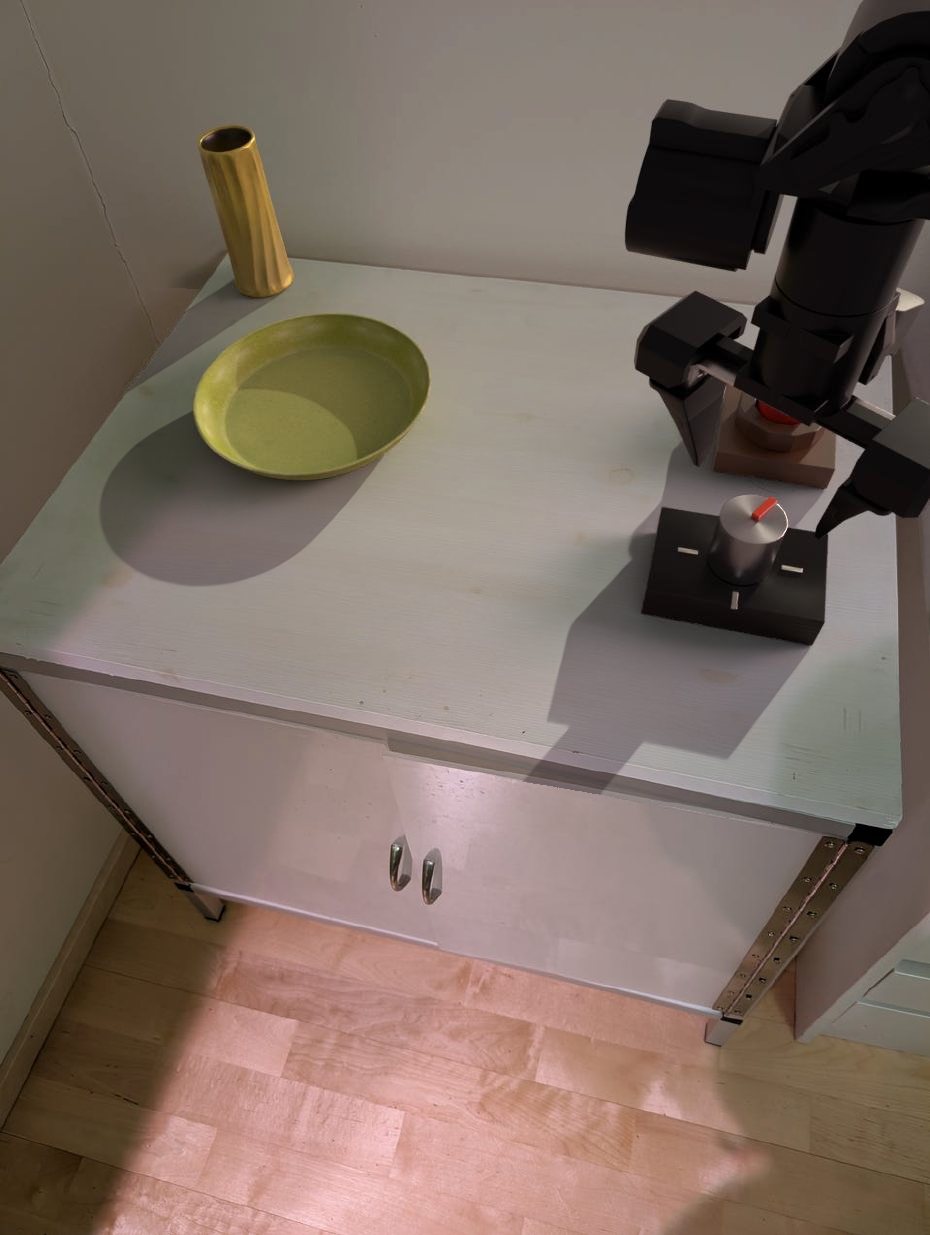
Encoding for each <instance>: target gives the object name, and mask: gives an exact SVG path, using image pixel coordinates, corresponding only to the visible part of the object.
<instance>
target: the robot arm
mask: <svg viewBox="0 0 930 1235" xmlns="http://www.w3.org/2000/svg"><path fill="white" fill-rule="evenodd" d="M843 38H844V39H843V41H842V43H841V46H840V47H838V49H836V51H835V52H834V53H832V54H831V55H830V56H829V57H828V58H827V59H826V60H824V62H823V63H822V64H821V65H819V67H818V68H817V69H816V70H814V71H813V72H812V73H811V74H810V75H809V76H807V78H806V79H805V80H804V81H803V82H801V83H800V84H799V85H797V87H796V88H795V89H794V90H793V91H792V92H791V93H790V94H789V96H788V98H787V101H786V103H785V105H784V108H783V110H782V112H781V114H780V116H779V119H776V118H770V117H762V116H756V115H749V114H742V113H735V112H728V111H721V110H712V109H709V108H705V107H703V106H701V105H698V104H697V103H693V102H689V101H684V100H677V99H669V98H668V99H665V101H663V102H662V104H661V105H660V107H659V109H658V111H657V112H656V114H655V115H654V117H653V118H652V120H651V124H650V132H649V139H648V144H647V147H646V150H645V153H644V156H643V159H642V163H641V166H640V170H639V173H638V177H637V181H636V185H635V189H634V194H633V196H632V197H631V199H630V201H629V203H628V205H627V210H626V216H625V224H624V225H625V226H624V246H625V249H626V251H627V252H630V253H634V254H639V255H645V256H650V257H655V258H660V259H666V260H670V261H676V262H681V263H685V264H691V265H697V266H701V267H706V268H713V269H718V270H722V271H728V272H733V273H736V272H737V271H738V270H741V271H742V270H743V271H746V270H747V268H748V265H749V262H750V258H751V255H752V251H753V253H754V254H759V255H764V256H765V255H766V253H767V251H768V248H769V246H770V243H771V240H772V238H773V234H774V231H775V228H776V224H777V222H778V219H779V216H780V212H781V209H782V204H783V202H784V197H785V196H789V197H795V198H796V200H795V203H794V207H793V210H792V214H791V218H790V221H789V224H788V227H787V228H788V229H787V231H786V235H785V239H784V243H783V245H782V248H781V252H780V256H779V260H778V262H777V266H776V270H775V273H774V277H773V280H772V284H771V287H770V290H769V295H767V296H766V297H764V299H762V300H761V301H760V302H758V303H757V304H756V305H755V306H754V308H753V312H752V315H751V319H750V325H753V326H755V327H757V328H759V329H758V333H757V336H756V340H755V343H754V347H753V349H752V348H750V347H748V346H746V345H744V344H742V343H740V342H738V341H736V340H738V339H739V338H740V337H742V336H743V335H744V334H745V329H746V326H747V322H748V318H747V317H746V316H745V315H744V313H743V312H741V311H739V310H737V309H735V308H733V307H731V306H728V305H726V304H725V303H723V302H721V301H718V300H716V299H714V298H712V297H710V296H708V295H706V294H704V293H702V292H699V291H698V290H694V291H692V292H690V293H688V294H686V295H685V296H682V298H680V299H679V300H677V301H676V302H675V303H674V304H673V305H671V306H669V307H668V308H667V309H665V310H664V311H663V312H662V313H660V314H659V315H658V316H656V317H654V319H652V320H650V321H649V322H648V323H647V324H646V325H644V326H643V328H642V329H641V331H640V333H639V335H638V337H637V338H636V344H635V350H634V355H633V356H634V357H633V366H634V370H636V371H637V372H639V373H640V374H643V375H644V376H646V377H648V386H649V387H650V388H651V389H652V390H654V391H655V392H657V393H658V394H659V396H660V398H661V400H662V402H663V403H664V405H665V407H666V409H667V411H668V413H669V415H670V416H671V418H672V420H673V422H674V424H675V426H676V428H677V431H678V432H679V435H680V438H681V440H682V442H683V444H684V447H685V449H686V451H687V454H688V457H689V458H690V460H691V463H692V465H693V466H695V467H697V468H699V467H701V466H702V465H703V464H704V463H705V462H706V461H707V460H708V458H709V456H710V453H711V450H712V447H713V444H714V441H715V438H716V437H715V436H716V433H717V427H718V424H719V420H720V415H721V409H722V402H723V397H724V393H725V389H726V385H727V384H729V385H731V386H733V387H735V388H736V389H738V390H740V391H742V392H744V393H746V394H748V395H750V396H751V397H753V398H755V399H757V400H759V401H761V402H763V403H765V404H766V405H768V406H770V407H772V408H774V409H776V410H778V411H780V412H781V413H783V414H785V415H787V416H789V417H791V418H793V419H795V420H797V421H799V422H801V423H803V424H805V425H806V426H808V427H809V426H810V425H812V424H813V423H816V424H818V425H820V426H822V427H824V428H825V429H827V430H829V431H831V432H833V433H835V434H837V436H839V437H841V438H842V439H845V440H846V441H849V442H850V443H852V444H854V445H855V446H858V447H859V448H861V449H864V450H863V451H862V453H861V454H860V456H859V457H858V458H857V460H856V462H855V464H854V466H853V468H852V469H851V472H850V474H849V476H848V477H847V478H846V479H845V480H844V481H843V482H842V483H841V484H840V485H839V486H838V487H837V489H836V491H835V493H834V495H833V496H832V498H831V500H830V501H829V503H828V505H827V507H826V508H825V510H824V512H823V513H822V515H821V517H820V518H819V521H818V523H817V524H816V526H815V529H814V530H815V531H814V532H815V535H814V537H816V538H817V539H819V540H820V539H821V538H823V537H824V536H825V535H826V534H828V535H829V533H830V532H832V531H833V530H834V529H836V528H837V527H838V526H839V525H841V524H842V523H844V522H845V521H847V520H850V519H852V518H854V517H856V516H860V515H861V514H863V513H866V512H871V513H873V514H874V515H877V516H880V517H887V516H890V515H891V514H895V515H896V516H898V517H900V518H901V519H916V518H919V517H920V516H921V515H922V514H923V513H924V511H926V509H927V508H928V507H930V403H929V402H926V401H925V400H922V399H920V398H918V397H917V396H915V397H913V398H912V399H911V400H910V401H909V403H907V404H906V405H905V406H904V408H902V409H901V410H900V411H899V412H898V413H897V414H896V415H894V414H892V413H890V412H888V411H886V410H884V409H883V408H881V407H878V406H876V405H874V404H872V403H870V402H868V401H866V400H864V399H862V398H860V397H859V396H856V395H855V394H853V393H854V391H855V389H856V387H857V384H858V383H859V384H861V385H863V386H867V385H868V384H870V383H871V382H872V381H873V380H874V379H875V378H876V377H877V376H878V375H879V372H880V370H881V368H882V365H883V363H884V361H885V359H886V358H887V357H889V356H890V357H893V356H895V355H897V353H898V351H899V349H900V348H901V345H902V344H903V342H904V341H905V339H906V337H907V335H908V333H909V331H910V330H911V328H912V327H913V324H914V323H915V321H916V319H917V317H918V316H919V314H920V312H921V310H922V308H923V307H924V306H925V300H924V299H923V298H921V297H920V296H918V295H916V294H914V293H912V292H909V291H907V290H905V289H902V288H900V287H899V285H900V282H901V280H902V278H903V275H904V273H905V271H906V268H907V266H908V263H909V261H910V260H911V256H912V254H913V252H914V250H915V247H916V245H917V243H918V240H919V238H920V235H921V233H922V231H923V229H924V226H925V223H926V221H930V0H862V1H861V2H860V4H859V5H858V7H857V9H856V11H855V13H854V15H853V17H852V19H851V22H850V24H849V26H848V28H847V31H846V32H845V35H844V37H843Z"/></svg>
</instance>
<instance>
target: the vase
mask: <svg viewBox="0 0 930 1235" xmlns="http://www.w3.org/2000/svg"><path fill="white" fill-rule="evenodd" d="M256 140H257V139H256V135H255V132H253V130H252V129H251V128H249V127H247V126H245V125H241V124H240V125H239V124H227V125H226V124H225V125H220V126H217V127H214V128H210V129H209V130H207V131H205V132H204V133H203V134H201V135H200V136H199V138H198V139H197V141H196V142H197V143H196V145H197V149H198V152H199V156H200V160H201V164H202V167H203V170H204V173H205V177H206V180H207V185H208V187H209V191H210V194H211V197H212V202H213V204H214V207H215V212H216V215H217V218H218V220H219V225H220V229H221V233H222V237H223V240H224V243H225V246H226V249H227V254H228V257H229V261H230V264H231V269H232V273H233V276H234V285H235V288H236V290H237V291H239V292H240V293H241V294H243V295H244V296H247V297H251V298H267V297H272V296H275V295H278V294H280V293H281V292H283V291H285V290H286V289H288V288H289V286H290V285H291V284H292V282H293V281H294V277H295V274H294V270H293V268H292V266H291V264H290V262H289V259H288V255H287V251H286V247H285V244H284V240H283V237H282V233H281V230H280V226H279V223H278V219H277V216H276V211H275V208H274V205H273V202H272V198H271V194H270V189H269V186H268V182H267V178H266V173H265V170H264V167H263V162H262V159H261V155H260V152H259V149H258V145H257V141H256Z"/></svg>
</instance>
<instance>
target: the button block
mask: <svg viewBox="0 0 930 1235" xmlns="http://www.w3.org/2000/svg"><path fill="white" fill-rule="evenodd" d="M758 404H759V400H757V399H755V398H753V397H751V396H750V395H748V394H746V393H744V392H742V391H740V390H738V389H736V388H735V387H733V386H731V385H729V384H727V385H726V388H725V391H724V396H723V400H722V405H721V410H720V415H719V421H718V429H717V437H716V442H715V443H716V444H715V450H714V456H713V463H712V470H711V471H712V472H716V473H722V474H730V475H735V476H740V477H741V476H742V477H748V478H753V479H754V478H755V479H760V480H761V479H762V480H769V481H773V482H781V483H787V484H793V485H800V486H806V487H813V488H820V489H825V490H826V489H828V488H829V485H830V483H831V480H832V478H833V475H834V473H835V471H836V461H837V460H836V459H837V436H838V435H837V434H835V433H833V432H831V431H829V430H827V429H825V428H824V427H822V426H820V425H818V424H816V423H813V424H812V425H810V426H809V427H808V426H806V425H805V424H803V423H799V424H795V425H784V424H777V423H774V422H772V421H770V420H768V419H767V418H765V417H764V416H763V415H762V414H761V412H760V410H759V407H758Z"/></svg>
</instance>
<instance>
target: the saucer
mask: <svg viewBox="0 0 930 1235" xmlns="http://www.w3.org/2000/svg"><path fill="white" fill-rule="evenodd" d="M431 387H432V374H431V368H430V365H429V361H428V359H427V356H426V355H425V353H424V351H423V350H422V349H421V347H420V346H419V345H418V344H417V342H416V341H415V340H414V339H412V337H410V336H409V335H408V334H406V332H404V331H403V330H401V329H399V328H397V327H396V326H394V325H391V324H389V323H387V322H385V321H382V320H380V319H377V318H373V317H369V316H365V315H360V314H354V313H345V312H321V313H309V314H302V315H298V316H293V317H287V318H283V319H280V320H277V321H274V322H272V323H268V324H266V325H263V326H262V327H259V328H257V329H254V330H252V331H251V332H249V333H247V334H244V335H243V336H242V337H241V338H238V339H237V340H235V341H234V342H232V343H231V344H230V345H229V346H227V347H226V348H225V349H223V351H221V352H220V353H219V354H218V355H217V357H215V359H213V361H212V362H211V363H210V364H209V365H208V367H207V368H206V369H205V371H204V372H203V373H202V376H201V378H200V380H199V381H198V383H197V385H196V388H195V392H194V395H193V402H192V413H193V415H192V416H193V420H194V423H195V426H196V429H197V431H198V433H199V435H200V437H201V438H202V440H203V441H204V443H205V444H206V445H207V446H208V447H209V448H210V450H212V451H213V452H214V453H216V454H217V456H220V457H221V458H222V459H224V460H226V461H227V462H229V463H231V464H232V465H234V466H237V467H239V468H241V469H243V470H245V471H248V472H250V473H253V474H256V475H260V476H263V477H268V478H272V479H276V480H277V479H279V480H289V481H313V480H321V479H327V478H333V477H337V476H341V475H344V474H347V473H350V472H353V471H355V470H358V469H360V468H363V467H364V466H367V465H369V464H371V463H372V462H374V461H376V460H377V459H380V458H381V457H382V456H384V455H385V454H386V453H388V452H389V451H391V450H392V449H393V448H394V447H395V446H396V445H397V444H399V443H400V442H401V441H402V440H403V439H404V438H405V437H406V436H407V435H408V433H409V432H410V431H411V430H412V428H413V427H414V426H415V424H417V421H419V418H420V417H421V415H422V413H423V411H424V410H425V407H426V405H427V403H428V400H429V397H430V393H431V389H432V388H431Z"/></svg>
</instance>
